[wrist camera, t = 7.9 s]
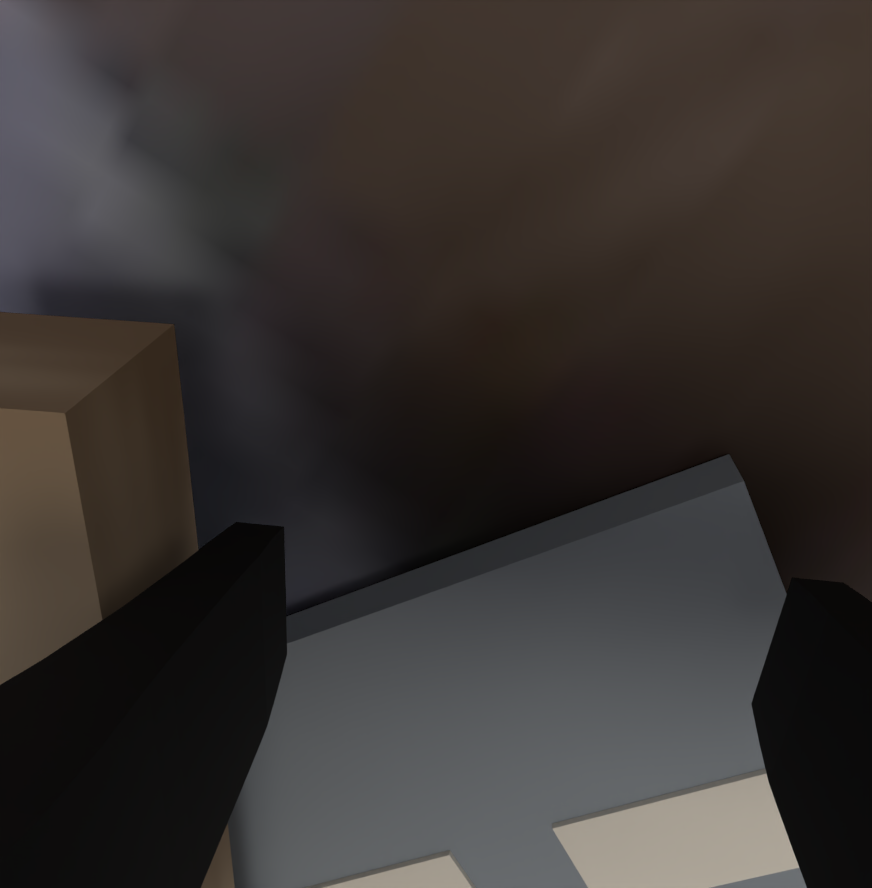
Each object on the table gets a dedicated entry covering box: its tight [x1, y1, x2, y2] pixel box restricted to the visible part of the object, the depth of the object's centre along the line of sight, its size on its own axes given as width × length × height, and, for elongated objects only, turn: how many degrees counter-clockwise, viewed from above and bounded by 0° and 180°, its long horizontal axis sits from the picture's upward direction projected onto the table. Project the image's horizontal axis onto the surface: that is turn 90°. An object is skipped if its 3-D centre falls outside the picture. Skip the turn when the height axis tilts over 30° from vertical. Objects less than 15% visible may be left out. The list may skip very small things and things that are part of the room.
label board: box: [228, 454, 807, 888], centre depth 15 cm, size 15×13×1 cm
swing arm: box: [0, 312, 235, 888], centre depth 12 cm, size 16×3×3 cm, turn 178°
